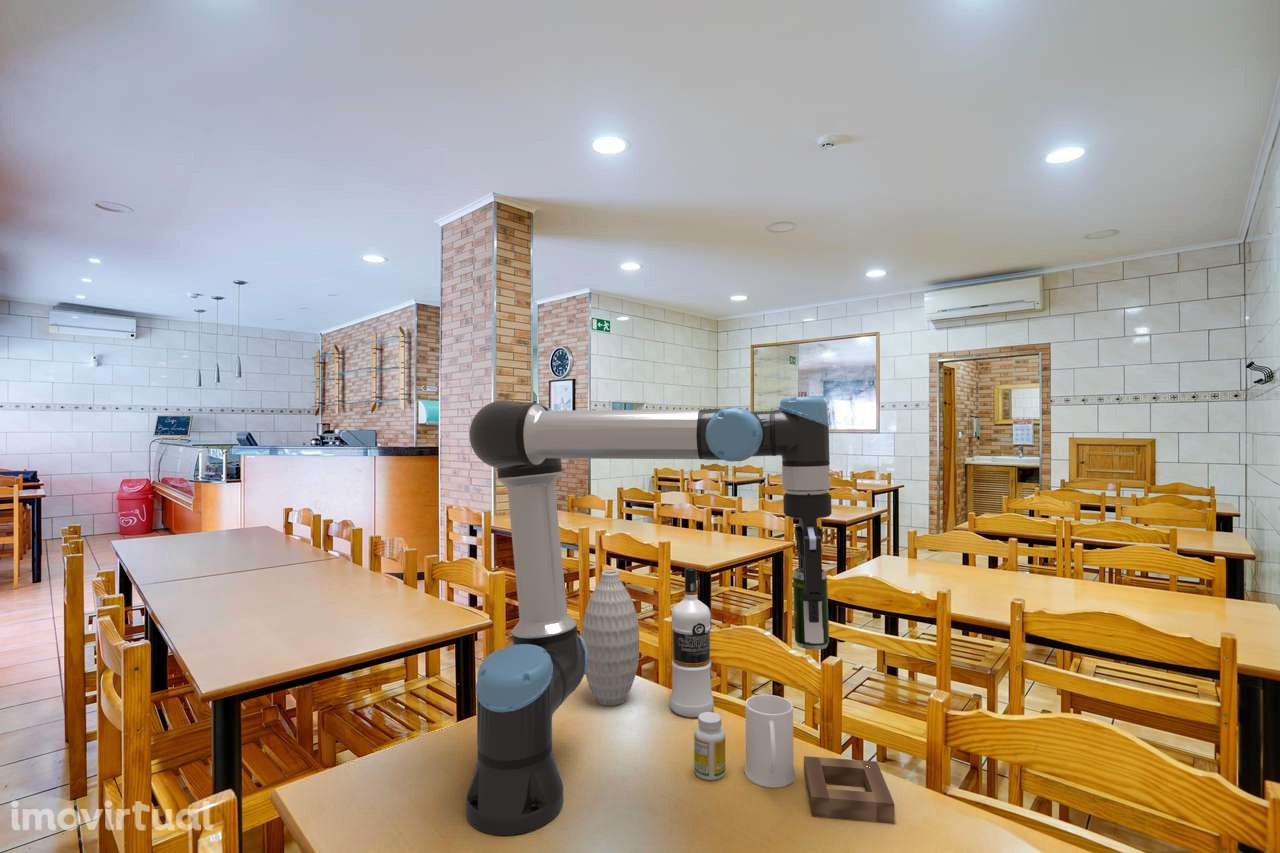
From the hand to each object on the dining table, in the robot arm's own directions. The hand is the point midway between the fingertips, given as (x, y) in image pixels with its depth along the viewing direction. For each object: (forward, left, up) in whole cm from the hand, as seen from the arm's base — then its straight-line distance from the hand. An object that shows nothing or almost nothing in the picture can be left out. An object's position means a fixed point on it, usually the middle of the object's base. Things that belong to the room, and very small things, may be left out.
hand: (811, 635), depth 100 cm
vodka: (-22, +29, -26) cm, 44 cm away
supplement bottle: (-17, +5, -26) cm, 31 cm away
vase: (-40, +31, -26) cm, 57 cm away
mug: (-7, +4, -26) cm, 27 cm away
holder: (+5, +1, -26) cm, 26 cm away
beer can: (0, 0, -2) cm, 2 cm away
